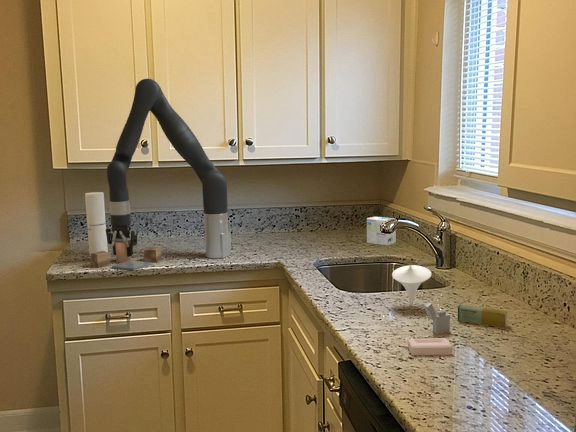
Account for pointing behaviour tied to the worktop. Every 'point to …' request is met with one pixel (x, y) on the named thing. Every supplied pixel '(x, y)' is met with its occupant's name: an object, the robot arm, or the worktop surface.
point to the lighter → (438, 319)
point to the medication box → (482, 315)
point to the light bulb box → (379, 232)
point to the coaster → (131, 265)
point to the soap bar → (430, 346)
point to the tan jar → (121, 250)
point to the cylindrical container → (96, 222)
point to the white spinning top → (411, 278)
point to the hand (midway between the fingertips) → (123, 255)
